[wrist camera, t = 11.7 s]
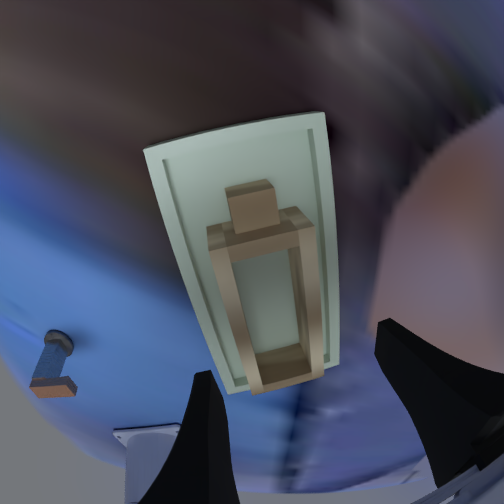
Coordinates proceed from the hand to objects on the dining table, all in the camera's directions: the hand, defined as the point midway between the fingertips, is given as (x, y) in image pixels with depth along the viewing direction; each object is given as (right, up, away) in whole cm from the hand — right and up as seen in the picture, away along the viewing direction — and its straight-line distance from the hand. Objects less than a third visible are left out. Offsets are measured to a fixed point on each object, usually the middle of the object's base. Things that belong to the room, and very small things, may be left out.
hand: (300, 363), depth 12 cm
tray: (-1, +3, +9) cm, 9 cm away
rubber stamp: (-17, -3, +8) cm, 19 cm away
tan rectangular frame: (-1, +1, +9) cm, 9 cm away
